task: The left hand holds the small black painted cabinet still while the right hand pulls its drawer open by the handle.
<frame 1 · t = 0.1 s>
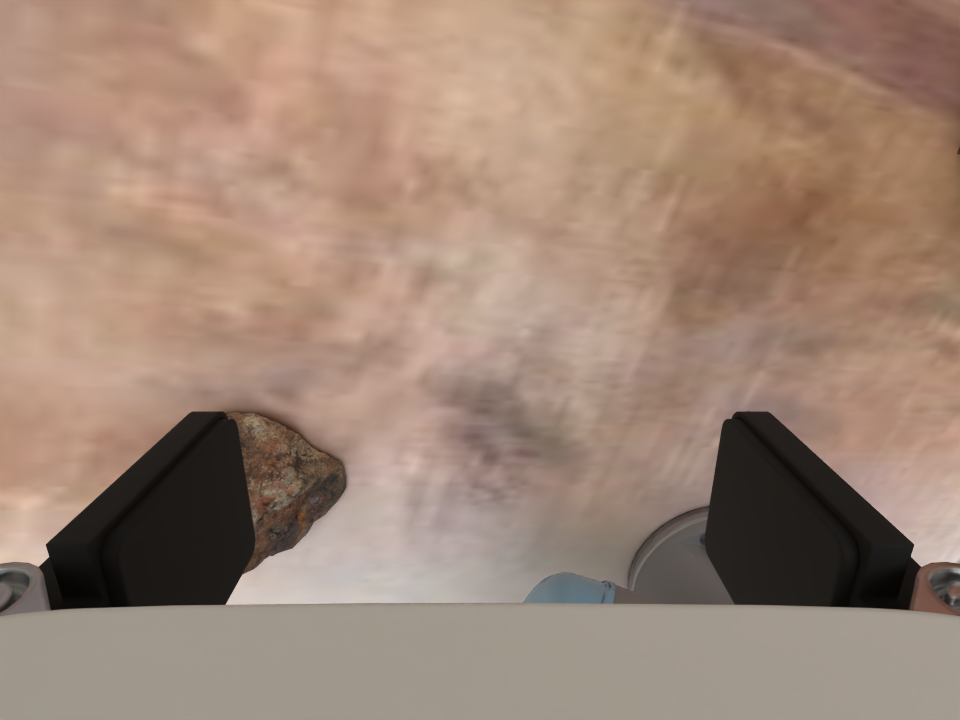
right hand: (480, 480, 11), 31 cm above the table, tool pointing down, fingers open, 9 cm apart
rock: (256, 465, 47), on the table
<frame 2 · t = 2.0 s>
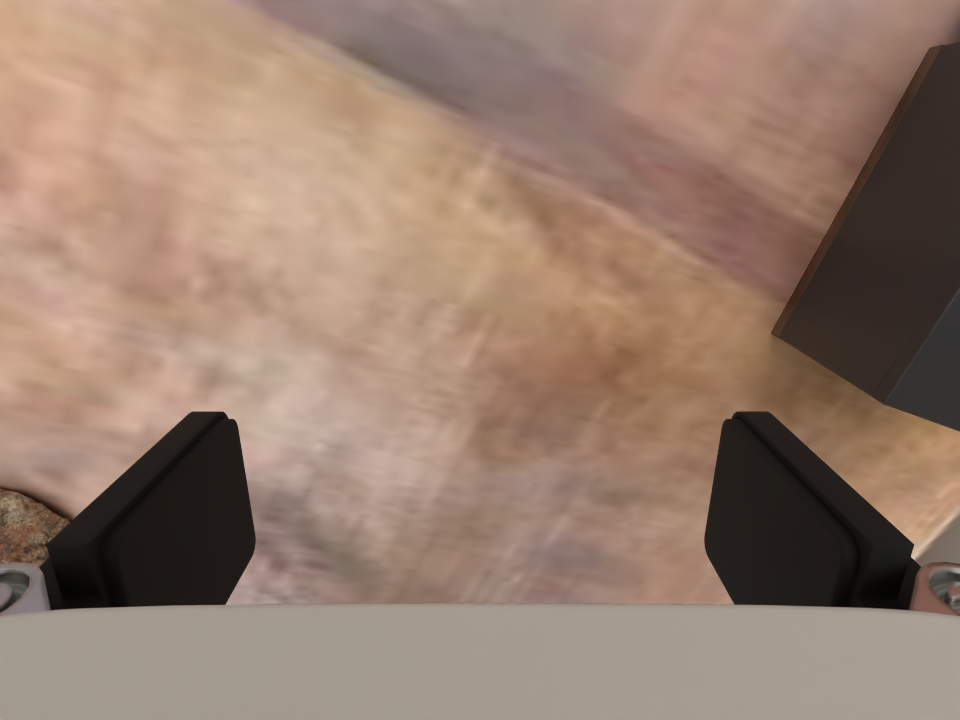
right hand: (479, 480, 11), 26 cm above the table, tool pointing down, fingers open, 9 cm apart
rock: (21, 543, 43), on the table
cabinet: (923, 234, 35), on the table
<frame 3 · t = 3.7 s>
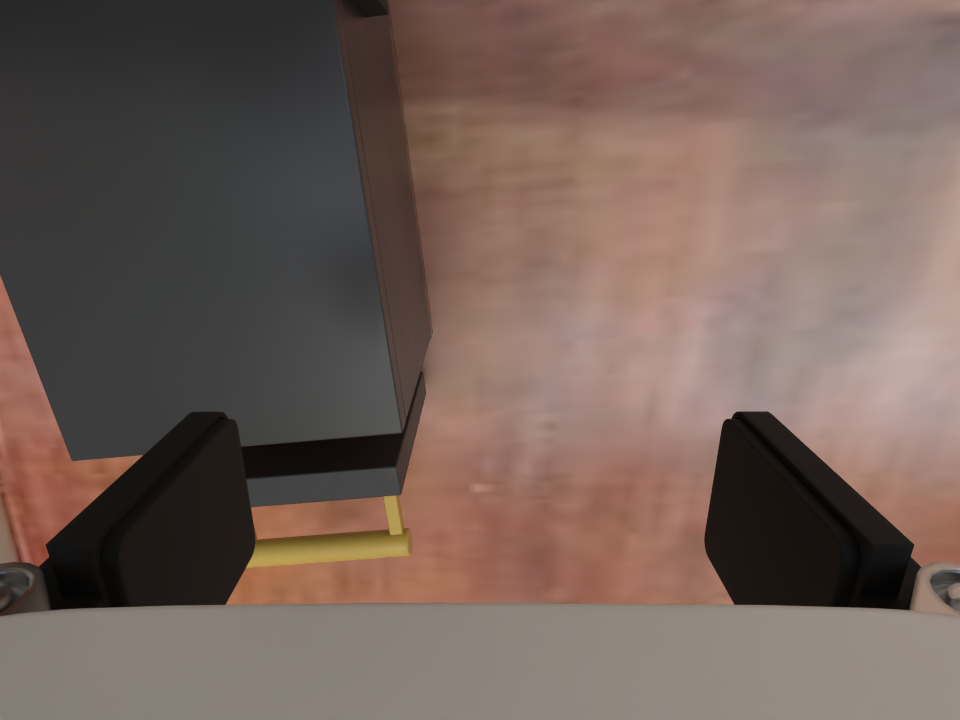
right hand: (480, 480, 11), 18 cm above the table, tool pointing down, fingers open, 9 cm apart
cabinet: (287, 162, 26), on the table, touching left hand
drawer: (277, 333, 23), point 5 cm above the table, slide at 1.7 cm
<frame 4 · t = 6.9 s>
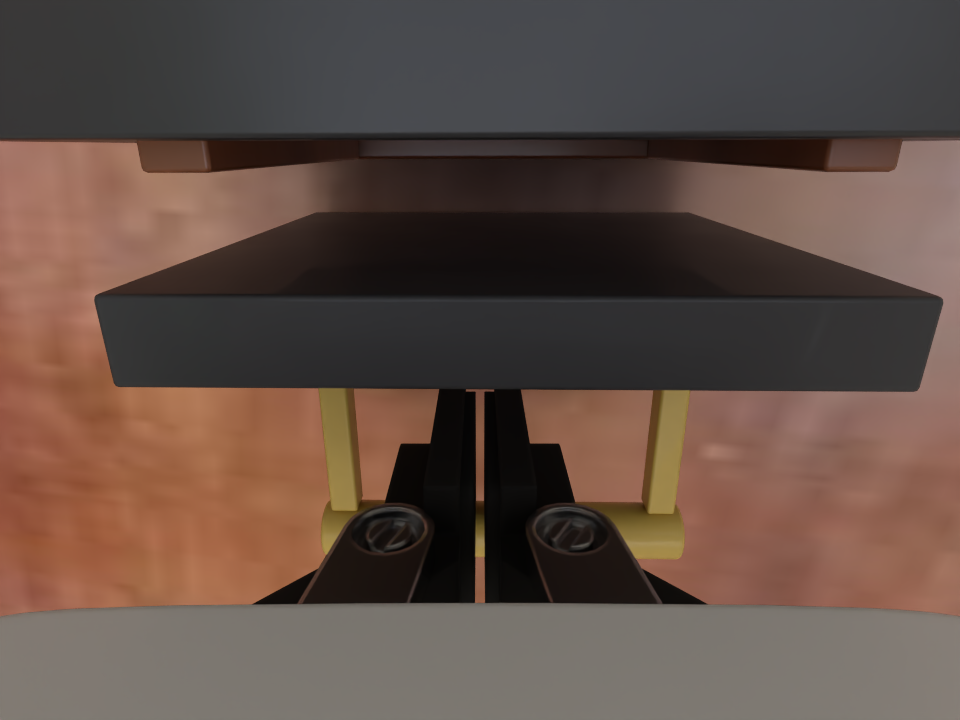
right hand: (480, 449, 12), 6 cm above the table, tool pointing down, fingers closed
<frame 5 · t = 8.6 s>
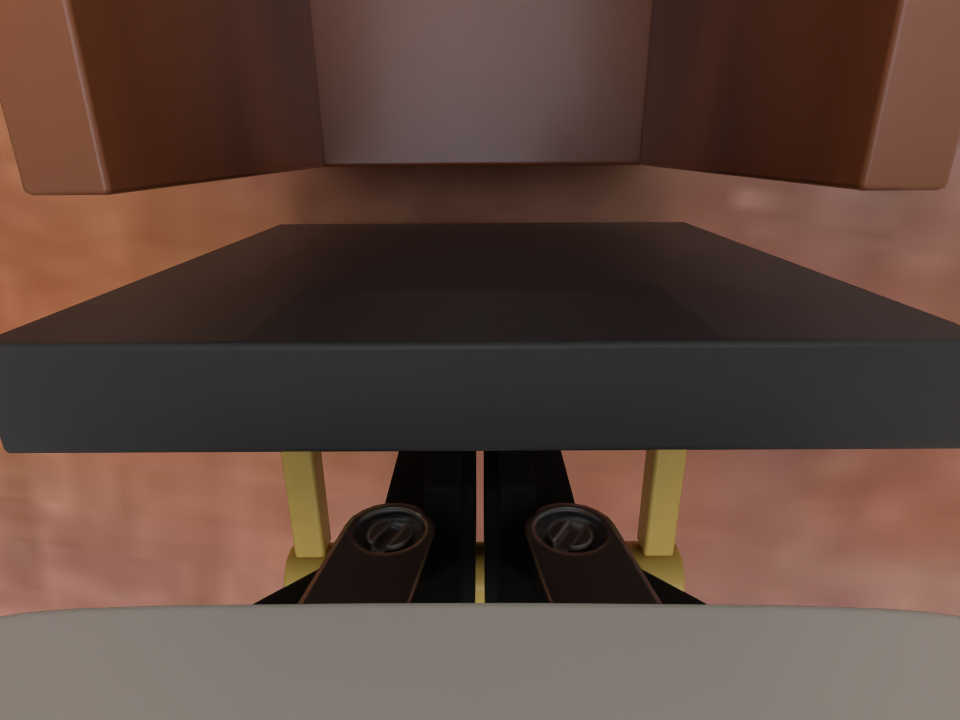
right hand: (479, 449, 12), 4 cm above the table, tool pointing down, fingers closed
when the left hand's fingers open (6 cm above the table, at t = 10.1 s): cabinet stays where it is, on the table.
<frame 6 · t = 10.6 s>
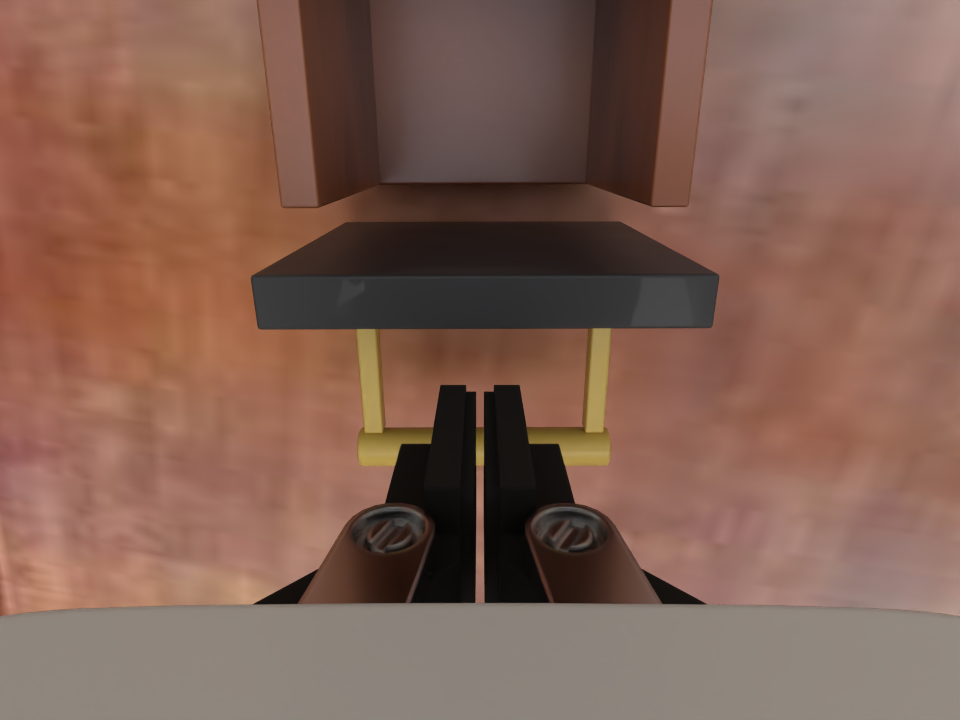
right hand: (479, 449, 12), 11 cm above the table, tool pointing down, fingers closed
drawer: (483, 89, 15), point 5 cm above the table, slide at 9.6 cm
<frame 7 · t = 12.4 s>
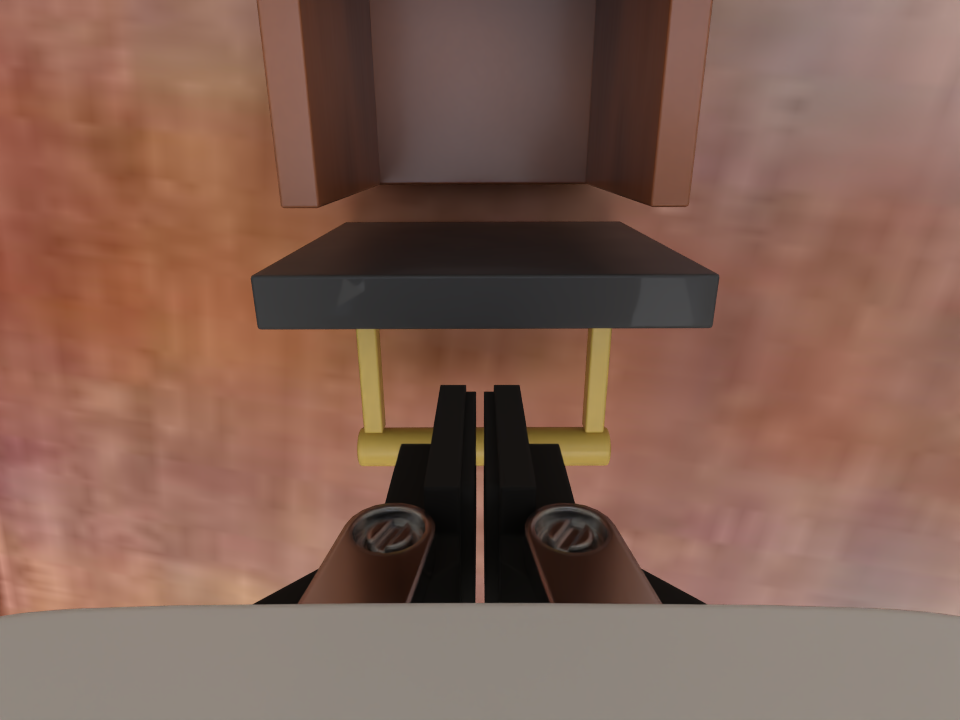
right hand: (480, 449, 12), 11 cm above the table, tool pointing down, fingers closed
drawer: (483, 89, 15), point 5 cm above the table, slide at 9.6 cm
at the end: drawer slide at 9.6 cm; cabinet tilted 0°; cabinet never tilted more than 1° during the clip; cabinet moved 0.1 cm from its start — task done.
